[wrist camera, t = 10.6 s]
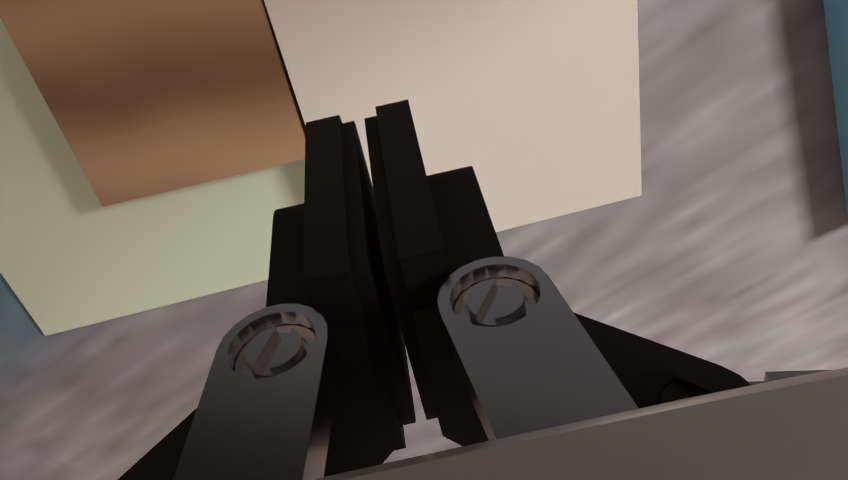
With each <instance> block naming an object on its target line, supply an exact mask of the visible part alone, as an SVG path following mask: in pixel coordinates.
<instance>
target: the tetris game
mask: <svg viewBox="0 0 848 480" xmlns="http://www.w3.org/2000/svg"><path fill="white" fill-rule="evenodd" d="M823 3H824V12H825V21H826V30H827V39H828V48H829V57H830V66H831V75H832V84H833V93H834V102H835V111H836V120H837V129H838V138H839V147H840V156H841V165H842V174H843V183H844V192H845V201H846V210H847V214H848V0H823Z"/></svg>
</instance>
